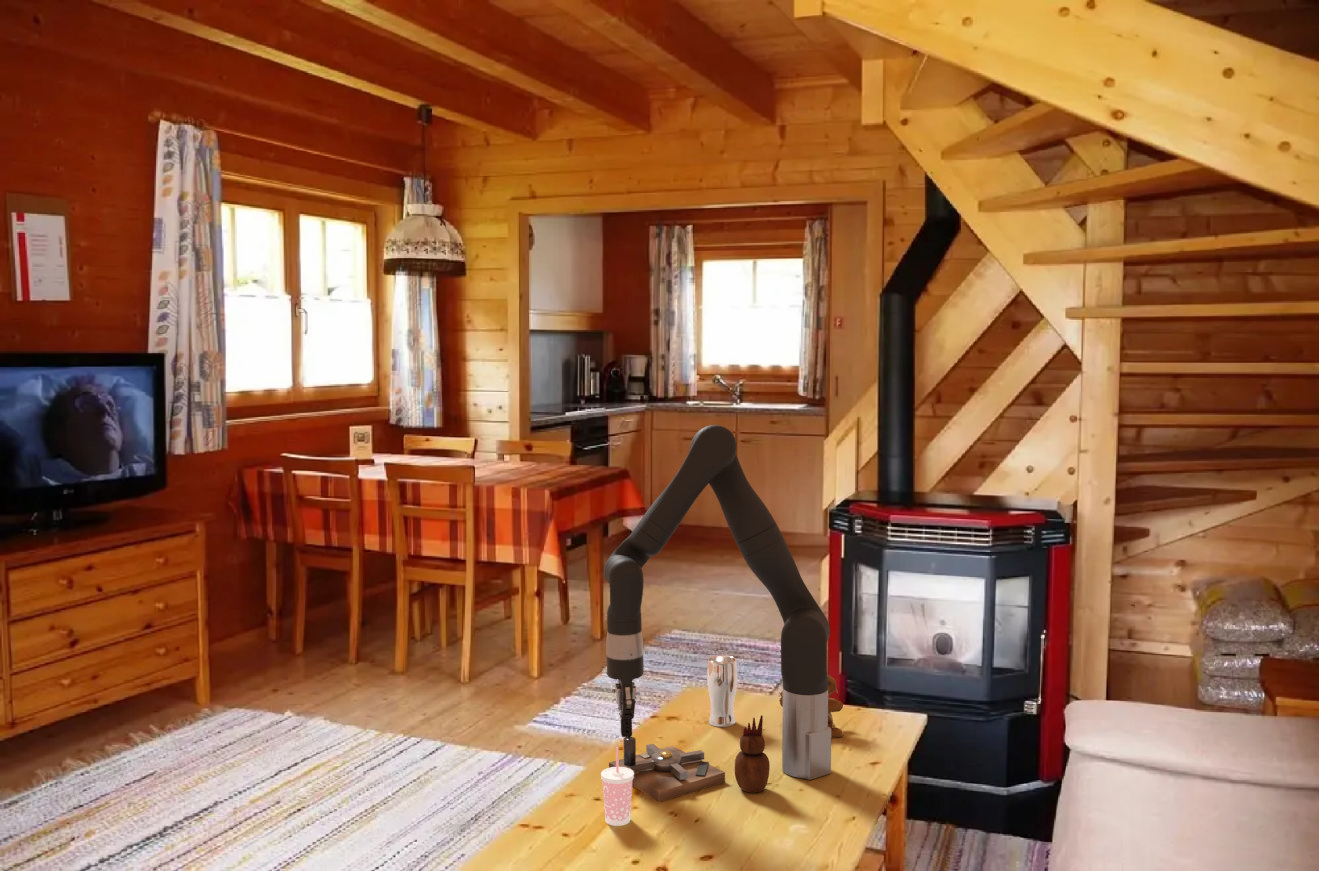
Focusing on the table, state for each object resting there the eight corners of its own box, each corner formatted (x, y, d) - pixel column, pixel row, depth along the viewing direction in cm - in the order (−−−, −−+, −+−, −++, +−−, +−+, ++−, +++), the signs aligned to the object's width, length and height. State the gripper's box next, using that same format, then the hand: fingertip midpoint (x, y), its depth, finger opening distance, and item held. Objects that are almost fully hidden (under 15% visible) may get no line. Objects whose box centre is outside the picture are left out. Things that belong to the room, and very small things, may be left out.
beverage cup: (602, 813, 203) (601, 740, 202) (635, 813, 203) (634, 740, 202) (599, 827, 197) (599, 752, 196) (633, 827, 197) (632, 752, 196)
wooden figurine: (773, 787, 215) (773, 713, 214) (763, 798, 210) (763, 722, 209) (741, 781, 218) (741, 708, 217) (730, 792, 213) (730, 717, 211)
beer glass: (738, 728, 248) (738, 663, 247) (707, 728, 248) (707, 663, 247) (736, 717, 255) (736, 655, 254) (706, 717, 255) (706, 655, 254)
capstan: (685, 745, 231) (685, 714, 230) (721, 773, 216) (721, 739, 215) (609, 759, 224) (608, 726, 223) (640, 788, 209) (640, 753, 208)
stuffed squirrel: (845, 738, 241) (846, 680, 240) (782, 739, 241) (782, 681, 240) (838, 723, 251) (838, 667, 250) (777, 723, 251) (777, 667, 250)
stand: (726, 781, 218) (726, 770, 218) (659, 802, 208) (659, 790, 208) (673, 754, 232) (673, 743, 232) (608, 772, 223) (607, 761, 223)
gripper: (647, 661, 216) (648, 746, 217) (639, 643, 229) (640, 723, 230) (609, 663, 215) (611, 748, 216) (603, 645, 228) (605, 725, 229)
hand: (626, 735), depth 223 cm, fingers closed
